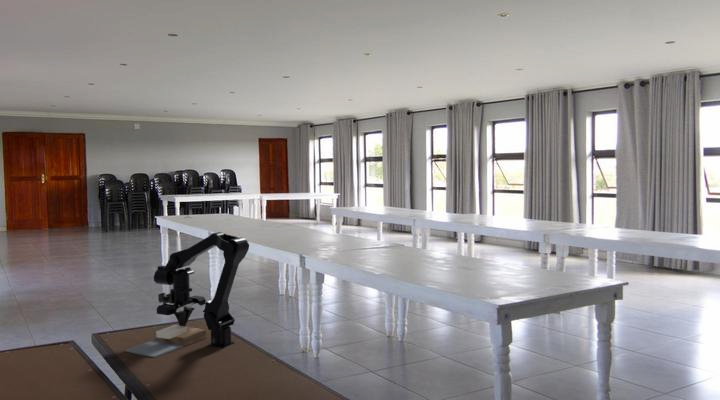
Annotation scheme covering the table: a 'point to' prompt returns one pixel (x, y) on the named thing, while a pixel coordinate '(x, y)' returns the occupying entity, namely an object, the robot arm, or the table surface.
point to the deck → (186, 337)
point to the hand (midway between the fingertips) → (182, 328)
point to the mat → (154, 348)
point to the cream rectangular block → (171, 332)
